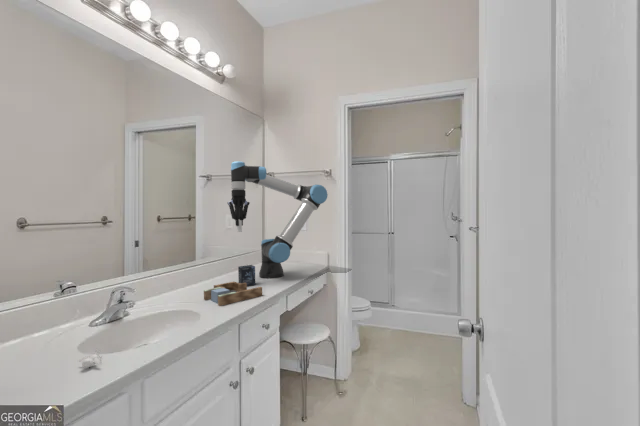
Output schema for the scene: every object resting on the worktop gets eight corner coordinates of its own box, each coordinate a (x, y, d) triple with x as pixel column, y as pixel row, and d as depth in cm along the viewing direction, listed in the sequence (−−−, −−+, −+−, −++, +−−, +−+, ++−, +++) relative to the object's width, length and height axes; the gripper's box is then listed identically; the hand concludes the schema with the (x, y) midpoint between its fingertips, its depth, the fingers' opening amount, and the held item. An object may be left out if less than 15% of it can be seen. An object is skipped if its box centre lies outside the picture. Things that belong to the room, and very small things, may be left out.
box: (241, 287, 169) (241, 267, 169) (238, 285, 174) (237, 266, 174) (255, 285, 173) (255, 265, 173) (251, 283, 178) (251, 264, 178)
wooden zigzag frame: (238, 288, 167) (237, 280, 167) (262, 295, 151) (262, 286, 151) (197, 296, 151) (197, 287, 151) (219, 306, 136) (219, 296, 136)
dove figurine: (69, 367, 82) (75, 348, 84) (85, 366, 86) (90, 347, 88) (94, 370, 80) (100, 350, 82) (109, 368, 84) (114, 349, 86)
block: (223, 298, 148) (223, 287, 148) (229, 300, 144) (229, 289, 144) (211, 301, 144) (211, 290, 144) (217, 303, 140) (217, 292, 140)
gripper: (245, 190, 183) (245, 230, 183) (224, 189, 174) (225, 232, 174) (252, 189, 178) (253, 231, 178) (231, 188, 169) (232, 232, 169)
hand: (239, 231), depth 176 cm, fingers closed
